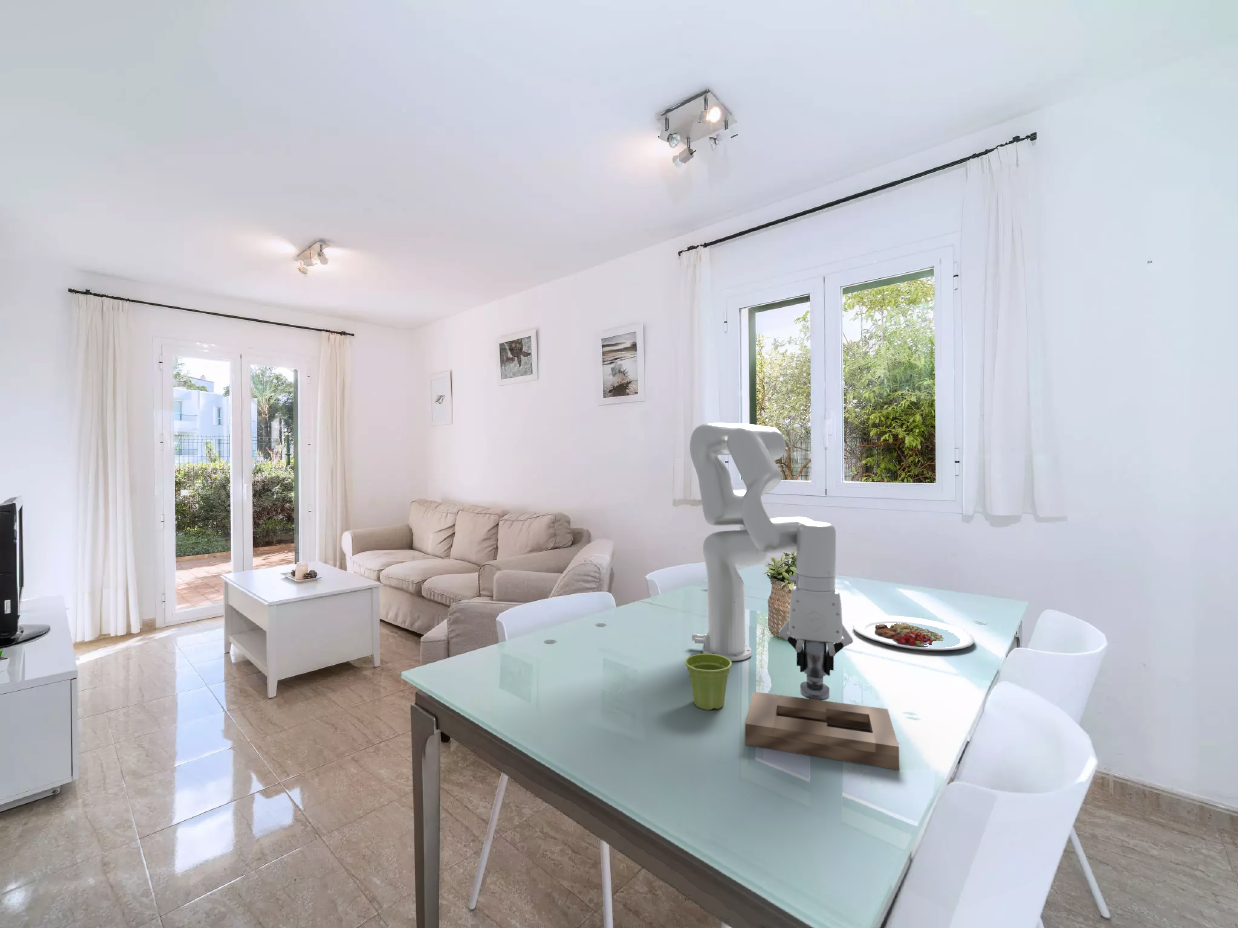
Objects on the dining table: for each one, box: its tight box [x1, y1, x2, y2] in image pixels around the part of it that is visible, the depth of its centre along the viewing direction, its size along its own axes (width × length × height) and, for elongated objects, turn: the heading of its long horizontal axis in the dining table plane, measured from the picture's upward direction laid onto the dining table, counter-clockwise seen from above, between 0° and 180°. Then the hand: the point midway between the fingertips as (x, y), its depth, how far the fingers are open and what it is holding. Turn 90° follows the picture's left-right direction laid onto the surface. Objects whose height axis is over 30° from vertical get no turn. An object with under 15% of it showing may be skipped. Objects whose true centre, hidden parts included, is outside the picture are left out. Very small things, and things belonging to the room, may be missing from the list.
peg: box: [799, 640, 830, 701], centre depth 110 cm, size 6×6×13 cm
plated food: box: [852, 615, 975, 651], centre depth 151 cm, size 30×30×3 cm
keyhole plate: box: [744, 691, 900, 771], centre depth 96 cm, size 24×14×4 cm, turn 70°
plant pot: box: [684, 653, 733, 711], centre depth 110 cm, size 9×9×9 cm
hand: (814, 670), depth 110 cm, fingers closed on peg, 4 cm apart
